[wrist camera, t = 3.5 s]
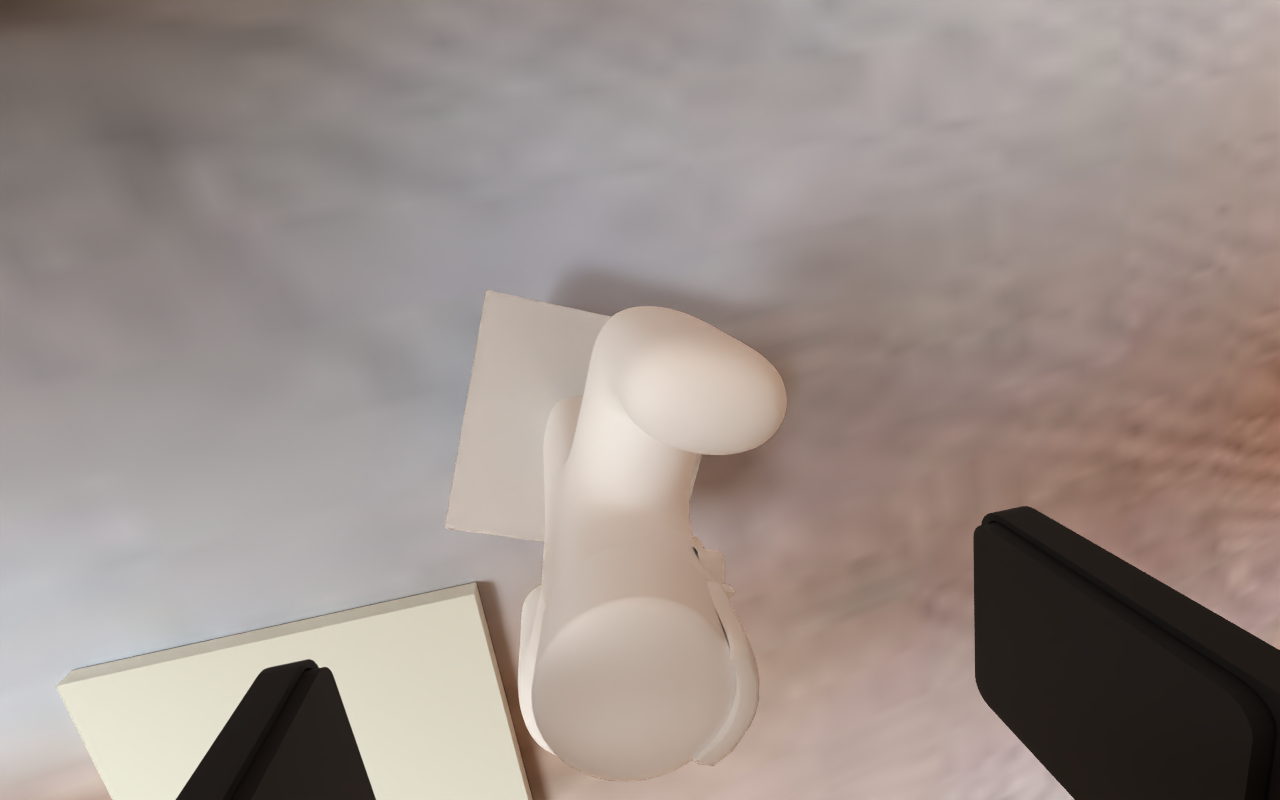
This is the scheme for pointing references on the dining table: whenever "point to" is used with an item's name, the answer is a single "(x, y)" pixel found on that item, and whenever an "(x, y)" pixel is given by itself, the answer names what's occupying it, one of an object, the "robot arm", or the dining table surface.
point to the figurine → (615, 523)
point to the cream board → (368, 685)
